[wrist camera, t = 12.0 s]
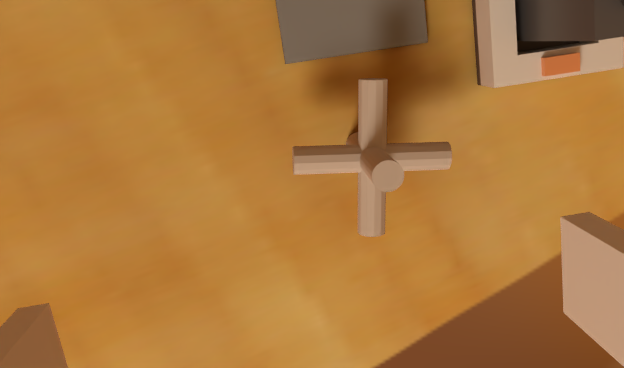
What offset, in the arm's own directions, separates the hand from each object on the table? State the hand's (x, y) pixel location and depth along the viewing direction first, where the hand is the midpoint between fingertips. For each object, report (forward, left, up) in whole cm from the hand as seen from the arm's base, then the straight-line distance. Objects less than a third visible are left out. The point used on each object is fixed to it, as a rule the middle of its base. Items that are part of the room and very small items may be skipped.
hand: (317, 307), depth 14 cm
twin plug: (-6, +19, -27) cm, 33 cm away
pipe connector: (+1, +5, -27) cm, 27 cm away
